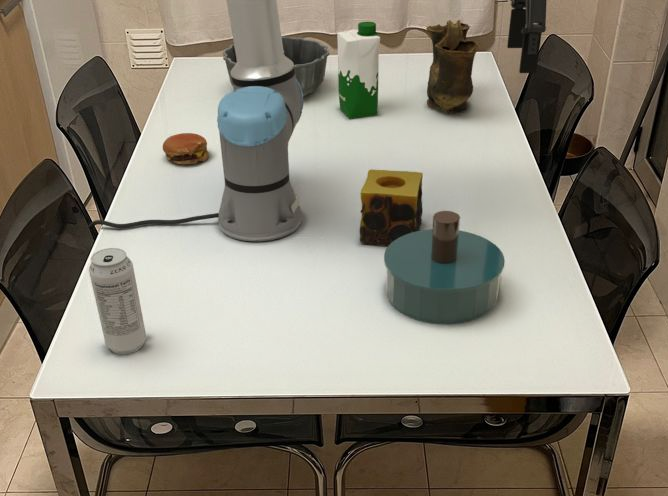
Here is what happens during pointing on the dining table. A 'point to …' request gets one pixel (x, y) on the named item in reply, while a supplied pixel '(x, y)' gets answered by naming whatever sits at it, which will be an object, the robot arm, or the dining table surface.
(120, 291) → the energy drink can
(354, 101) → the milk carton
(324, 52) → the bundt pan
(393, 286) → the pot
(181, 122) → the dining table surface
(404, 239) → the lid
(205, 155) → the burger
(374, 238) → the candle
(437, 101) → the pottery vessel
